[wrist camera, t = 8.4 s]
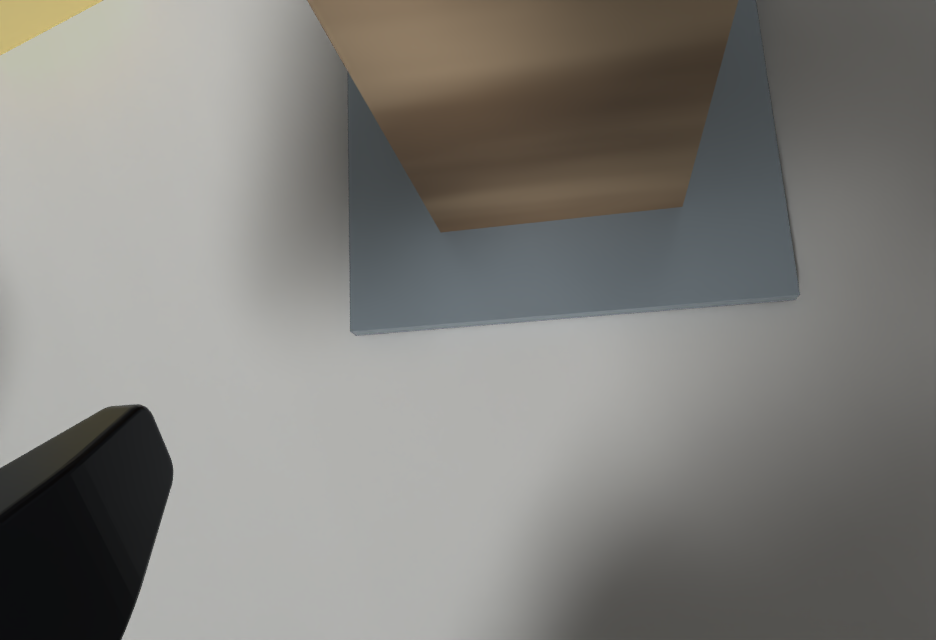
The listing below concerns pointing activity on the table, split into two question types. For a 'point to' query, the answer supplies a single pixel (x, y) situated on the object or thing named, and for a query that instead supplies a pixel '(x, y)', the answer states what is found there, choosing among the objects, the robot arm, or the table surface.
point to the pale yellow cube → (34, 18)
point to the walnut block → (536, 100)
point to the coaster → (582, 230)
